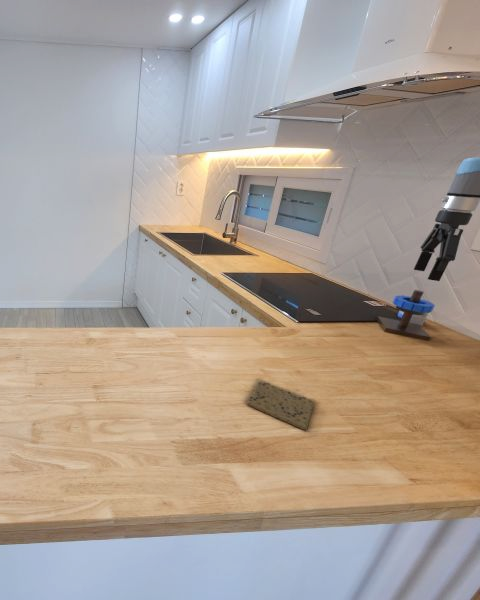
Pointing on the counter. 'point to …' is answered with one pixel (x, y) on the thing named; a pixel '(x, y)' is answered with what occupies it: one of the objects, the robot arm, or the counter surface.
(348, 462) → the counter surface
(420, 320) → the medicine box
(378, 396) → the counter surface
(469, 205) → the robot arm
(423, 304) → the blue plastic ring
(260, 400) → the cookie
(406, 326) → the stand
